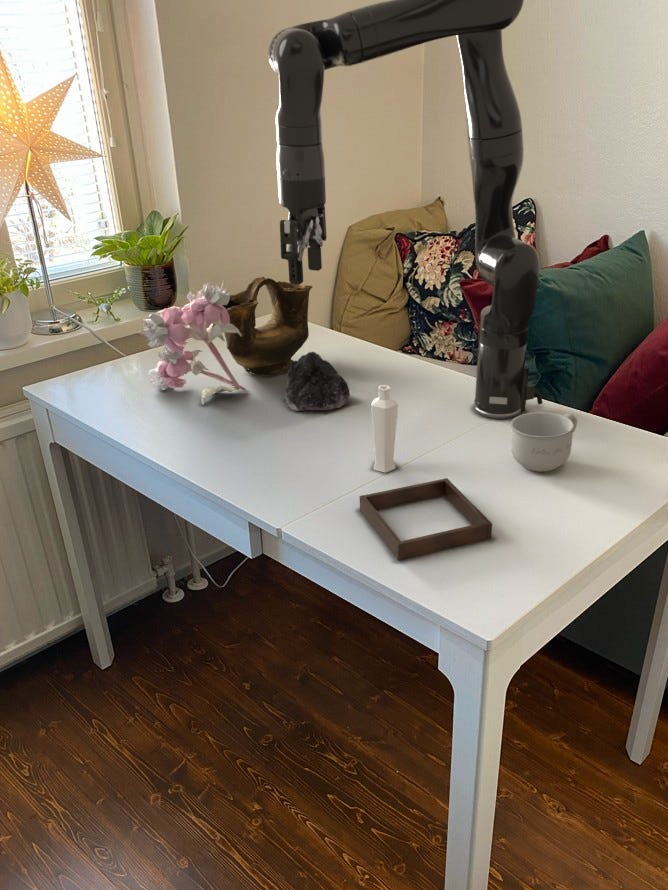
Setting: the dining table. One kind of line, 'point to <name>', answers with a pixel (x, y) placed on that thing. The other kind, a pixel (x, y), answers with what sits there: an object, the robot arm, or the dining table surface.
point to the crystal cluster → (315, 385)
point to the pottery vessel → (268, 326)
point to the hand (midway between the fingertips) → (306, 276)
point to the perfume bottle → (384, 429)
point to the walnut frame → (427, 543)
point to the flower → (175, 333)
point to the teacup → (542, 439)
